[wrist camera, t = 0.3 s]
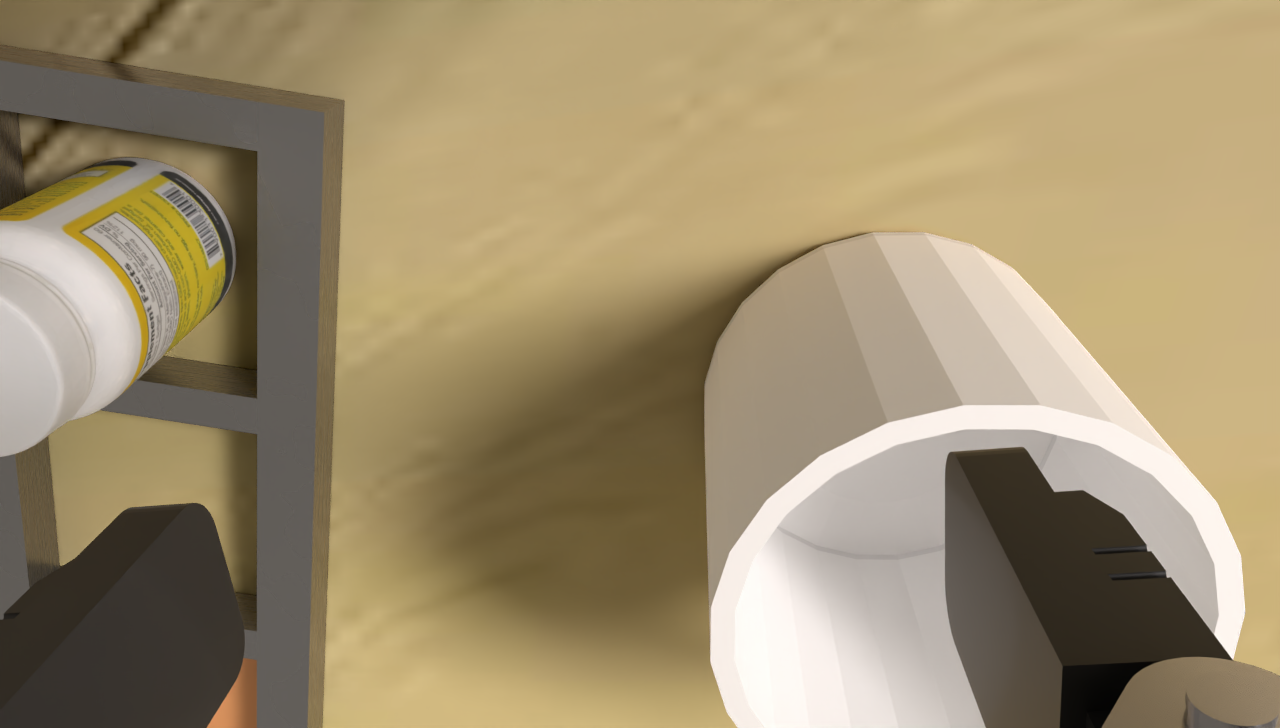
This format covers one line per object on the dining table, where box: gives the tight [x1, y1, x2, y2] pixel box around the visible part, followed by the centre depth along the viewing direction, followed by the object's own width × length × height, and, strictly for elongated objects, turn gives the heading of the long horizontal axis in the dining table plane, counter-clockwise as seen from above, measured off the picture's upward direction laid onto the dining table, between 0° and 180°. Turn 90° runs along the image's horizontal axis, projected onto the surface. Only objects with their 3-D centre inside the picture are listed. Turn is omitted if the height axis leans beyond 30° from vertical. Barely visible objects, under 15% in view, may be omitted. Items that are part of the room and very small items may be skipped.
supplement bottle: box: [0, 157, 236, 457], centre depth 25 cm, size 5×5×8 cm
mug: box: [704, 232, 1245, 728], centre depth 25 cm, size 13×10×10 cm
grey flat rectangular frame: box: [0, 45, 344, 728], centre depth 31 cm, size 25×10×2 cm, turn 171°
